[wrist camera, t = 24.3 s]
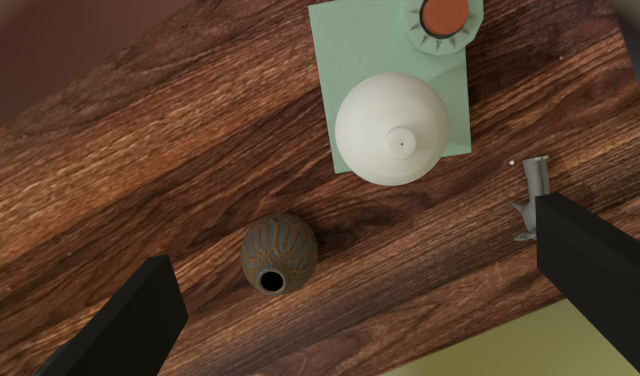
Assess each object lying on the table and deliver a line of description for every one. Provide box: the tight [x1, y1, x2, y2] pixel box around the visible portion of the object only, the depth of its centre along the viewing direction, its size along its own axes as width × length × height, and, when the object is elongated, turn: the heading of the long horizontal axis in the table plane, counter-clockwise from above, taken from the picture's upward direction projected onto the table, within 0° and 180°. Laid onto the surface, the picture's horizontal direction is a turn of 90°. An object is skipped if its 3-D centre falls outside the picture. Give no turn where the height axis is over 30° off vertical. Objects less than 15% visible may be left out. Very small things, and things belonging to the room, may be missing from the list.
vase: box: [241, 212, 318, 295], centre depth 36 cm, size 7×7×9 cm
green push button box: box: [308, 0, 484, 173], centre depth 34 cm, size 14×13×4 cm
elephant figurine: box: [507, 155, 550, 241], centre depth 36 cm, size 10×6×9 cm
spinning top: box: [335, 72, 449, 186], centre depth 29 cm, size 8×8×12 cm
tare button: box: [422, 0, 469, 35], centre depth 30 cm, size 3×3×2 cm
